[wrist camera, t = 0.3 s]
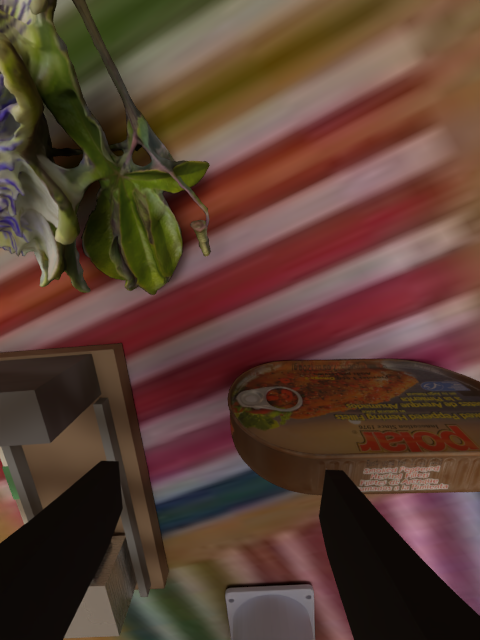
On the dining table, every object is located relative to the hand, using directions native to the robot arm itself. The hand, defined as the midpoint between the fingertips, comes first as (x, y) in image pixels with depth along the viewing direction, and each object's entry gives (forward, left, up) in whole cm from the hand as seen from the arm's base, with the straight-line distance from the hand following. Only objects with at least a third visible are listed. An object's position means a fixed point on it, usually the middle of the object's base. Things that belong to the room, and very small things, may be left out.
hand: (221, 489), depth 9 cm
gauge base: (-8, +13, -10) cm, 18 cm away
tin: (-1, -7, -10) cm, 13 cm away
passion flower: (+13, +6, -10) cm, 17 cm away
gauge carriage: (-15, +14, -8) cm, 22 cm away
